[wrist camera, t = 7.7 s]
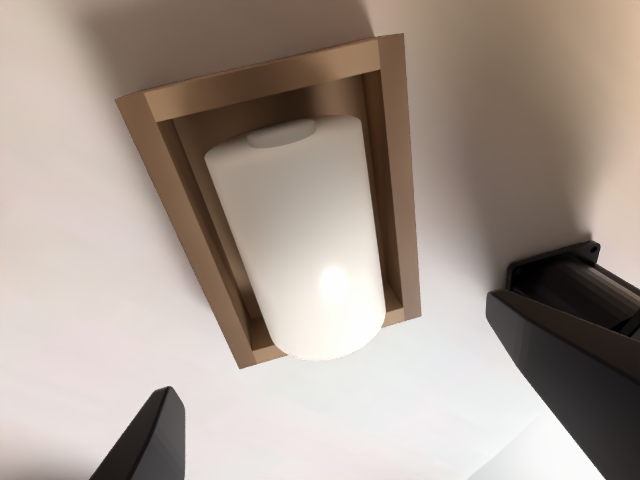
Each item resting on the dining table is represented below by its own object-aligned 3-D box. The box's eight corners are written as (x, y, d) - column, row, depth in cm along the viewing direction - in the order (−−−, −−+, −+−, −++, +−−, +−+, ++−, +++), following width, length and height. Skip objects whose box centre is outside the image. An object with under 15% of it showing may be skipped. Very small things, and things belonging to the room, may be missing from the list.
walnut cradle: (375, 37, 15) (403, 33, 13) (399, 283, 22) (421, 316, 20) (138, 90, 15) (114, 99, 12) (240, 328, 22) (239, 369, 19)
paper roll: (208, 132, 15) (190, 172, 10) (338, 100, 16) (384, 124, 11) (266, 297, 20) (274, 381, 15) (365, 269, 21) (405, 342, 15)
